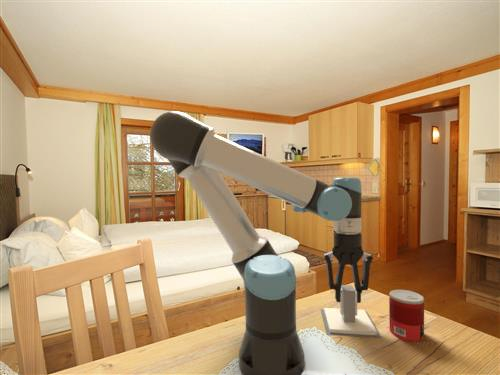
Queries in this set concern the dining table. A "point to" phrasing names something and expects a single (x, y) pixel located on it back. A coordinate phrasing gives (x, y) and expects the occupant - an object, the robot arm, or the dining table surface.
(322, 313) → the mat
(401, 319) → the canned food
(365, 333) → the lid
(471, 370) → the dining table surface
